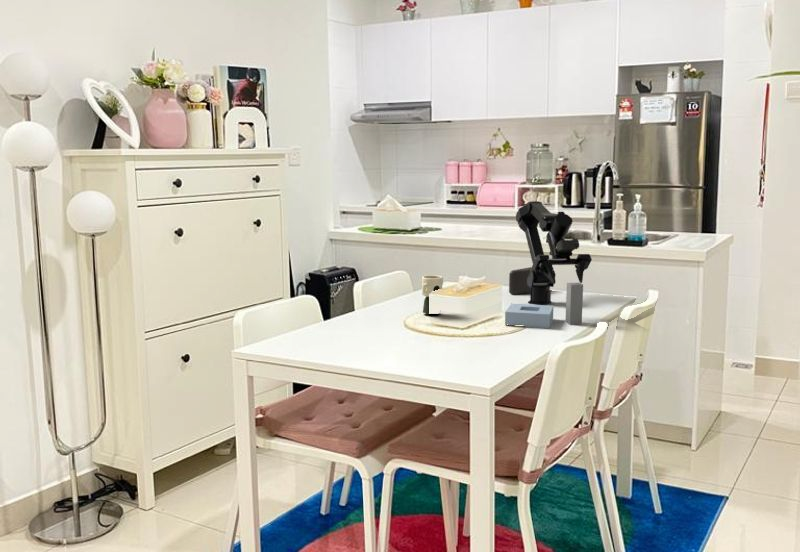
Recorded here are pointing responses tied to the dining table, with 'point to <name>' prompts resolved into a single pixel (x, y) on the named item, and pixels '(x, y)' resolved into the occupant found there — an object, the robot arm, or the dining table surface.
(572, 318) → the gray block
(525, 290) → the leaning round-cornered charcoal block
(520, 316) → the socket block
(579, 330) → the dining table surface
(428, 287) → the character mug
